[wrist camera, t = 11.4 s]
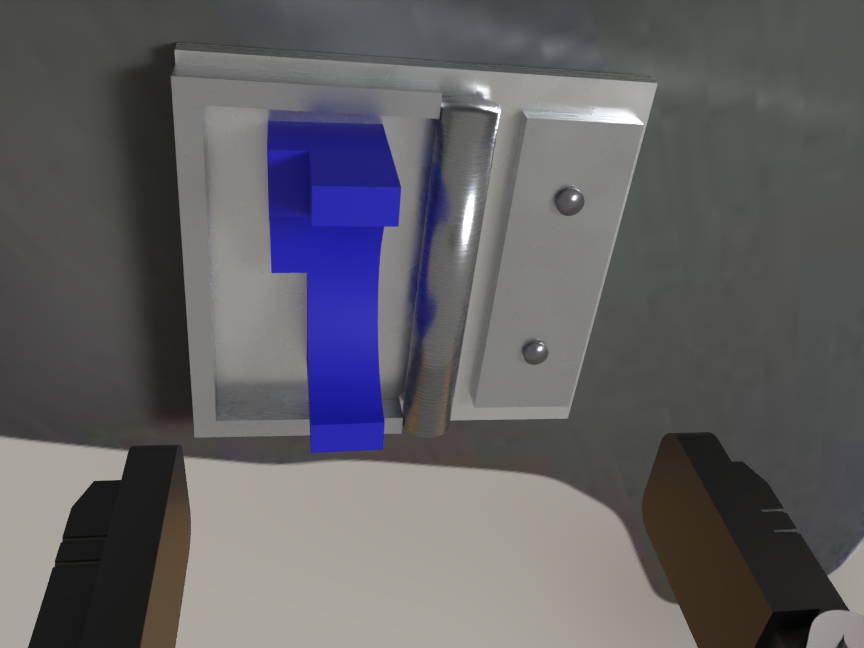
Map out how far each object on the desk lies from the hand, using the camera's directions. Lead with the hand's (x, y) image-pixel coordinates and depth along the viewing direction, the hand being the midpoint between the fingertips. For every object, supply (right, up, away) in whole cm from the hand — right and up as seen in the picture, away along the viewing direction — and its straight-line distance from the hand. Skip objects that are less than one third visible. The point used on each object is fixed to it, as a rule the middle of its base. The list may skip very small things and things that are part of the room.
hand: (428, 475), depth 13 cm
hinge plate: (-1, +6, +23) cm, 24 cm away
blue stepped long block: (-5, +6, +22) cm, 23 cm away
